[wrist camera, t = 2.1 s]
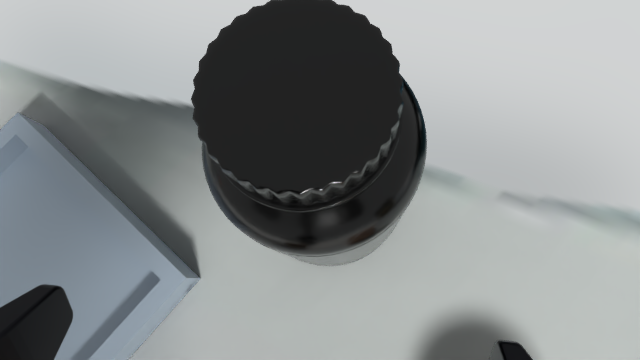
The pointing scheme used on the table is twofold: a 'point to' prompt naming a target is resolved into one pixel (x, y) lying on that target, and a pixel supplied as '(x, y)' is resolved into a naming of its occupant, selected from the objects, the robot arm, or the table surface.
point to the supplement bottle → (308, 130)
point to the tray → (81, 247)
